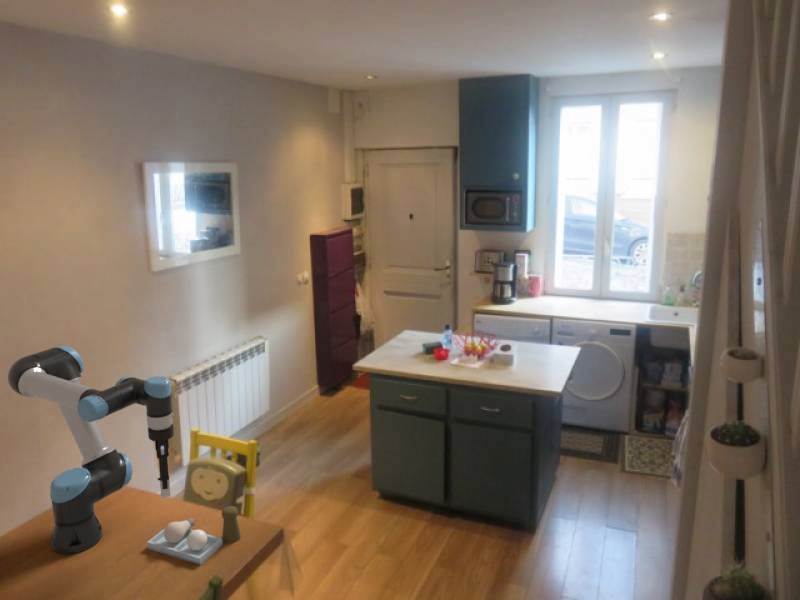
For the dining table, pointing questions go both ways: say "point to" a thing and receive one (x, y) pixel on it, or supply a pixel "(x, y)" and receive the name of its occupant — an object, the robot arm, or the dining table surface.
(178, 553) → the tray
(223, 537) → the pepper mill
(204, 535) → the white ball
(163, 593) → the dining table surface
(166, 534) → the light bulb
